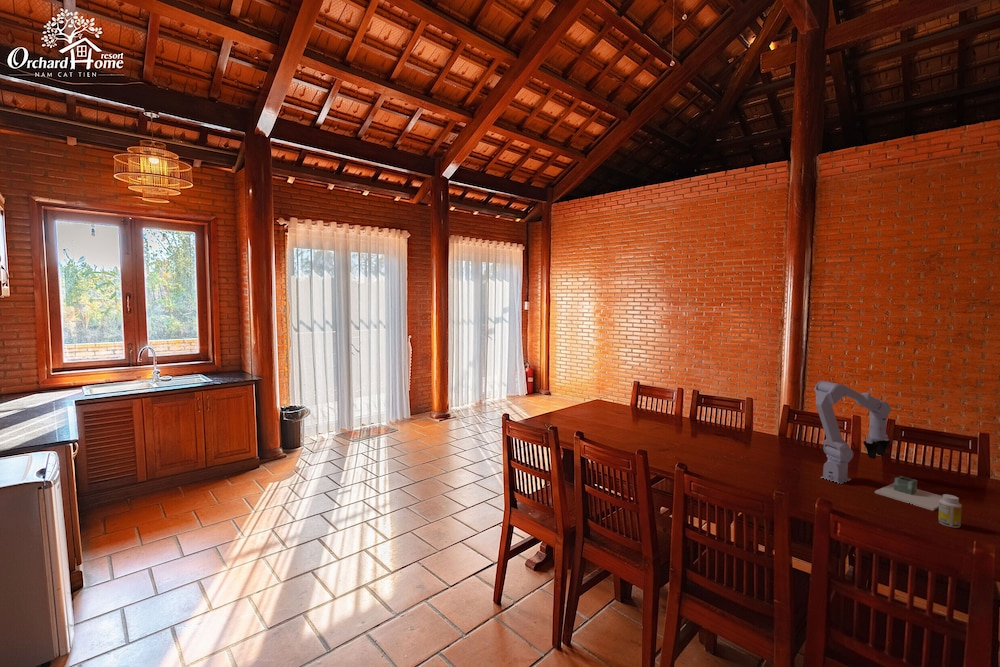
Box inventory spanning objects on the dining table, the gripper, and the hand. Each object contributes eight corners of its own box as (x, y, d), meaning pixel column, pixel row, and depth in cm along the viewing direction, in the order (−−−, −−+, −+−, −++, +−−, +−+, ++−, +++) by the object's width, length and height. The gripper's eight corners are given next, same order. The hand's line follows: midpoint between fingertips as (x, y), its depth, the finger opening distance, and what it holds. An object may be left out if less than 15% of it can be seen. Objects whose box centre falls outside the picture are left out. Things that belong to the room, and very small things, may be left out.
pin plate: (933, 510, 166) (933, 498, 166) (874, 492, 182) (875, 481, 182) (951, 500, 175) (952, 488, 174) (894, 484, 190) (895, 473, 190)
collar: (910, 494, 178) (911, 482, 178) (894, 490, 183) (894, 478, 182) (916, 492, 181) (917, 480, 180) (899, 487, 185) (900, 475, 185)
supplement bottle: (959, 524, 156) (961, 496, 155) (961, 530, 152) (963, 501, 151) (937, 519, 160) (939, 491, 159) (938, 524, 156) (940, 496, 155)
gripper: (880, 431, 190) (879, 462, 191) (896, 427, 197) (895, 456, 197) (861, 427, 196) (859, 457, 197) (877, 423, 203) (875, 452, 204)
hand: (876, 456), depth 198 cm, fingers open, 7 cm apart
